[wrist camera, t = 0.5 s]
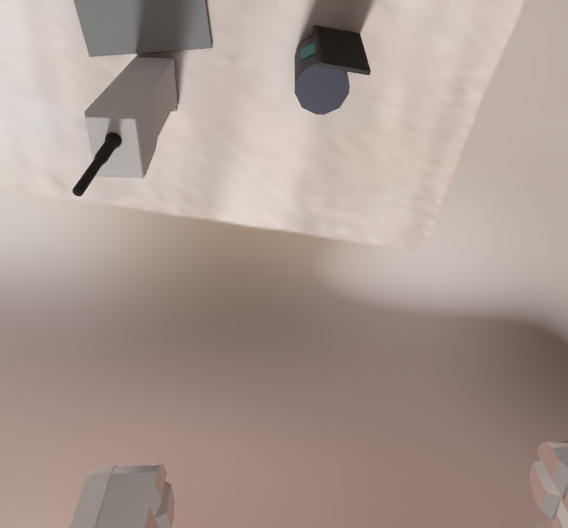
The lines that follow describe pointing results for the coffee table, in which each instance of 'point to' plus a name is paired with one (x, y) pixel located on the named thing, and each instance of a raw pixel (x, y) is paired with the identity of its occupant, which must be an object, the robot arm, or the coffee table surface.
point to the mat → (143, 25)
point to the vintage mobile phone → (129, 120)
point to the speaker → (327, 68)
